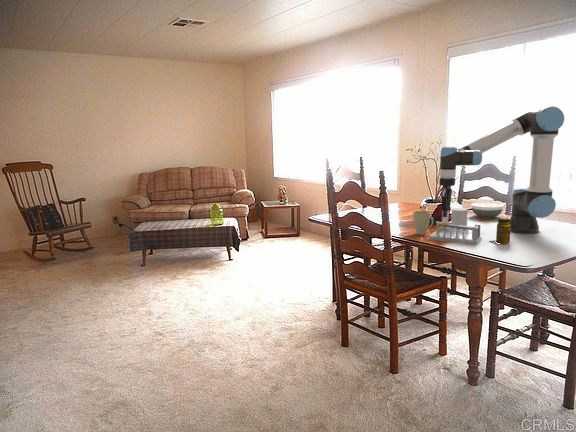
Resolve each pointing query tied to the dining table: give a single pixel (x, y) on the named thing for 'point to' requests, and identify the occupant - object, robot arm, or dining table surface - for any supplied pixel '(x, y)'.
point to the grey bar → (456, 226)
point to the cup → (459, 217)
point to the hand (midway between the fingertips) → (445, 222)
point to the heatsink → (456, 235)
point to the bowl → (487, 209)
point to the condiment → (503, 232)
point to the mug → (422, 221)
